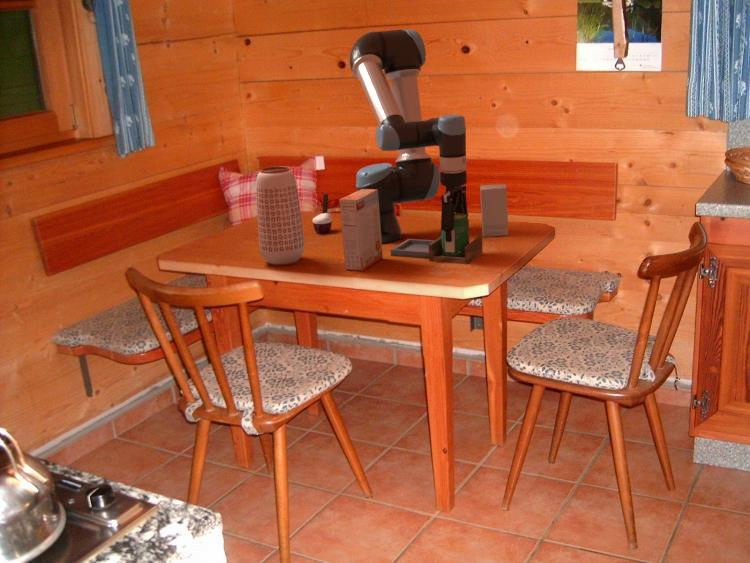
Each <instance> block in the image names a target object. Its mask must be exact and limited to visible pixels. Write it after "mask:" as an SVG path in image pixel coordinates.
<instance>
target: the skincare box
mask: <svg viewBox="0 0 750 563" xmlns="http://www.w3.org/2000/svg"><path fill="white" fill-rule="evenodd" d="M479 188H480V209H481V210H480V211H481V228H482V230H481V231H482V238H486V236H487V237H500V236H501V237H502V236H504V237H505V236H508V235H509V218H508V213H509V212H508V188H507V185H506V183H498V184H497V183H496V184H481V185H480V187H479Z"/></svg>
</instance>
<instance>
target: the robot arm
mask: <svg viewBox="0 0 750 563" xmlns="http://www.w3.org/2000/svg"><path fill="white" fill-rule="evenodd" d="M350 50H351V51H350V54H349V67H350V69H351V72H352V75H353V77H355V78H356V79H357V80H359V82H360V84H361V87H362V89H363V92H364V93H365V97H366V99H367V101H368V103H369V105H370V108H371V110H372V112H373V114H374V117H375V119H376V121H377V125H378V126H377V127H376V131H375V141H376V144H377V147H378V149H379V150H381V151H383V152H386V151H388V152H389V151H390V152H393V151H394V152H395V151H398V156H397V159H396V160H395V166H394V167H393V164H392V163H388V162H383V163H375V164H370V165H367V166H364V167H362V168H360V169H359V170H358V171H357V173H356V181H355V183H356V184H355V187H356V191H359V190H361V189H376V190H378V200H379V213H380V227H381V240H382V244H385V243H391V242H395V241H398V240H400V239H401V238H402V235H403V234H402V228H401V226H400V223H399V220H398V218H397V215H396V209H395V205H397V204H405V203H412V202H413V203H414V202H424V201H427V200H432V199H433V198H435V197H436V196H437V194H438V192H439V188H440V185H441V186H444V187H445V192H444V194H441V196H440V200H441V214H440V215H441V218H440V219H441V220H440V230H445V252H453V253H454V252H455V234H454V230H453V224H454V216H455V213H461V214H465V215H466V217H467V218H468V217H469V215H468V213H469V211H468V202H467V186H466V184H467V182H468V176H467V174H468V173H467V171H466V169H467V163H468V159H467V141H466V140H467V134H466V133H467V132H466V131H467V127H466V120H465V119H466V118H465V117H464V115H462V114H445V115H441V116H439V117H431V118H428V119H426V120H423V118H422V117H423V116H422V110H421V109H422V108H421V101H420V92H419V83H418V82H419V81H418V76H419V75H420V73H421V72H422V67H423V66H424V65H425V63H426V59H427V58H426V56H427V52H426V45H425V43H424V40H423V37H422V35H421V34H420V33H419V32H418V31H417V30H415V29H403V28H402V29H393V30H391V29H390V30H381V31H369V32H367V33H364V34H363V35H361V36H360V37H359V38H358V39H357V40H356V41H355V42H354V44H353V46H352V48H351V49H350ZM383 70H384V71H383ZM387 79H388V80H389V81H390V82H389V83H390V85H389V83H388V80H387ZM427 147H438V149H439V150H438V151H439V155H438V156H439V159H438V160H439V165H438V164H437V163H435V162H434V161H433V162H432V156H431V155H429V154H428V153H427V152H426V148H427ZM468 219H469V218H468Z"/></svg>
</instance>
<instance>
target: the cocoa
mask: <svg viewBox="0 0 750 563" xmlns="http://www.w3.org/2000/svg"><path fill="white" fill-rule="evenodd" d="M328 197H329V194H328V193H323V194H322V213H320V214H318V215H316V216H315V217H313V218H312V225H313V228H314V231H315V232H316V233H317V234H320V235H321V234H327V233H329V232H330V231H331V229H332V224H333V223H332V220H333V216H332V214H330V213H328V205H329V204H328V202H329V198H328Z"/></svg>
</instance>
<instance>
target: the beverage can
mask: <svg viewBox="0 0 750 563" xmlns="http://www.w3.org/2000/svg"><path fill="white" fill-rule="evenodd" d="M440 230H441V229H440ZM453 230H454V234H455V252H454V253H453V252H445V230H441V233H440V235H441V236H440V237H442V256H448V257H462V258H465V246H466V245H468V244H469V243H470V221H469V218H467V217H466V215H465V214H461V213H455V216H454V224H453Z"/></svg>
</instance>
